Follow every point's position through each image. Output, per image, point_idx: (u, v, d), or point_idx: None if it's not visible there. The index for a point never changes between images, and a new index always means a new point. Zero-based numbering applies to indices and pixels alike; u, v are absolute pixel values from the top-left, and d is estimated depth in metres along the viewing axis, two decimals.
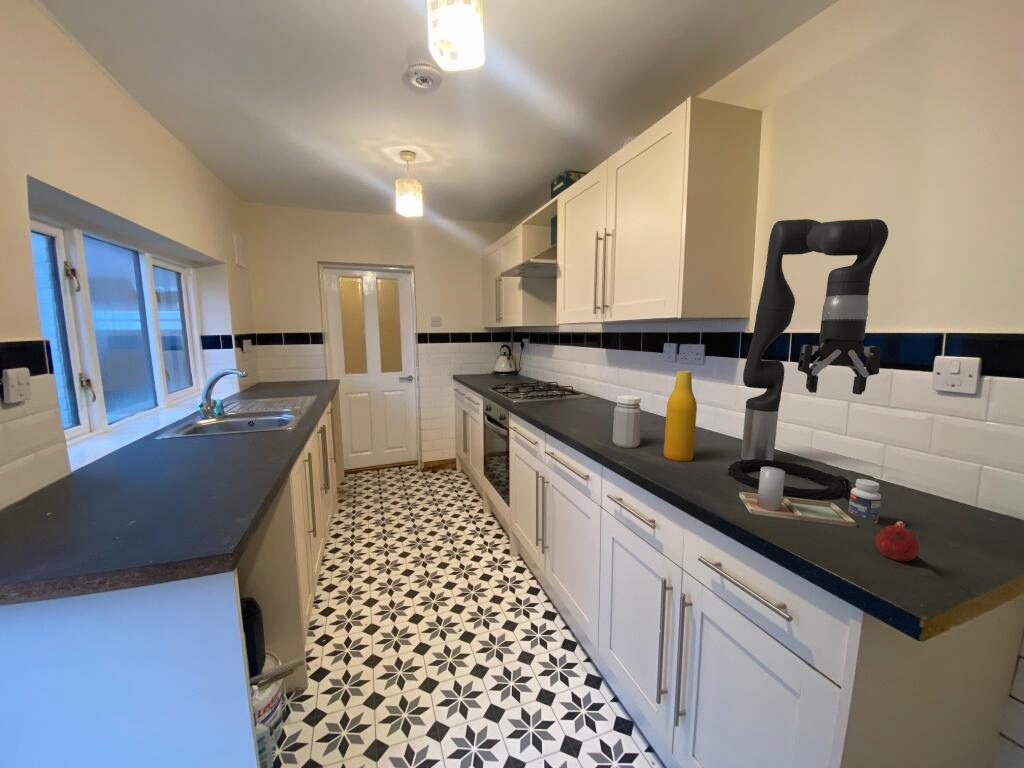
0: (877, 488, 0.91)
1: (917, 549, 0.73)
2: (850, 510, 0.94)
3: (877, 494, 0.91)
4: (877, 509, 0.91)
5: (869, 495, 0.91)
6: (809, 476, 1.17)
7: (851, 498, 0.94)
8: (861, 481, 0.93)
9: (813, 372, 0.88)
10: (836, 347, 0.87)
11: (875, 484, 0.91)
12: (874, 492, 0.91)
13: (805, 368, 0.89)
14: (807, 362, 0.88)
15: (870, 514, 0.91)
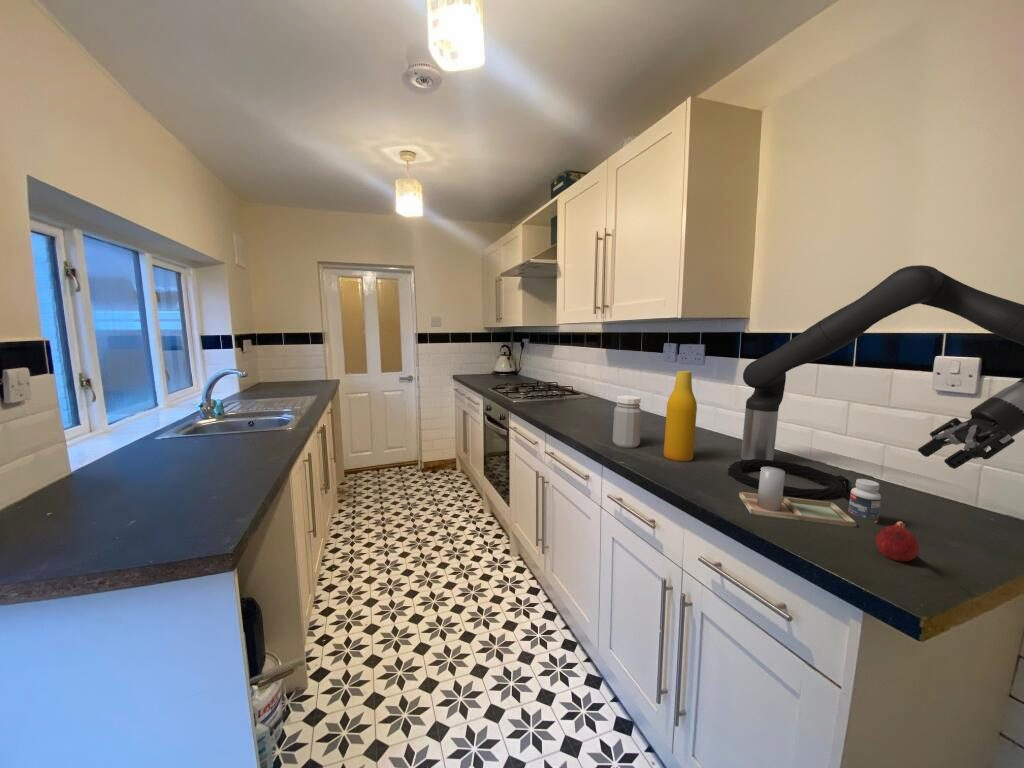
0: (877, 488, 0.91)
1: (917, 549, 0.73)
2: (850, 510, 0.94)
3: (877, 494, 0.91)
4: (877, 509, 0.91)
5: (869, 495, 0.91)
6: (809, 476, 1.17)
7: (851, 498, 0.94)
8: (861, 481, 0.93)
9: None
10: None
11: (875, 484, 0.91)
12: (874, 492, 0.91)
13: None
14: None
15: (870, 514, 0.91)
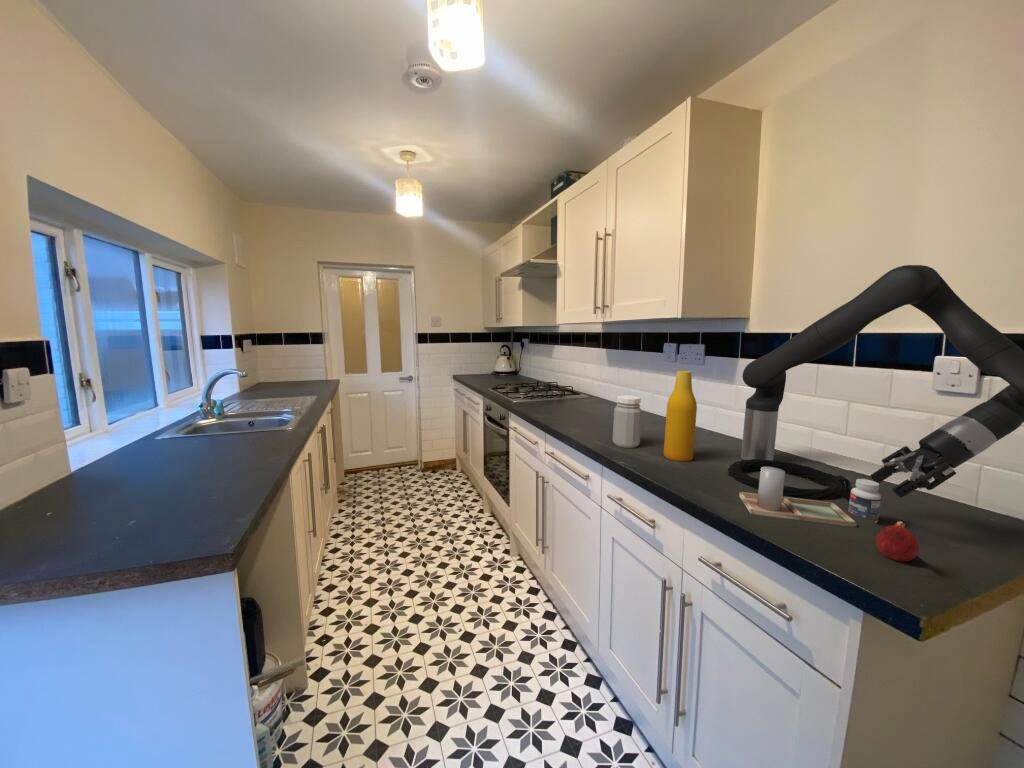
0: (877, 488, 0.91)
1: (917, 549, 0.73)
2: (850, 510, 0.94)
3: (877, 494, 0.91)
4: (877, 509, 0.91)
5: (869, 495, 0.91)
6: (809, 476, 1.17)
7: (851, 498, 0.94)
8: (861, 481, 0.93)
9: None
10: None
11: (875, 484, 0.91)
12: (874, 492, 0.91)
13: None
14: None
15: (870, 514, 0.91)
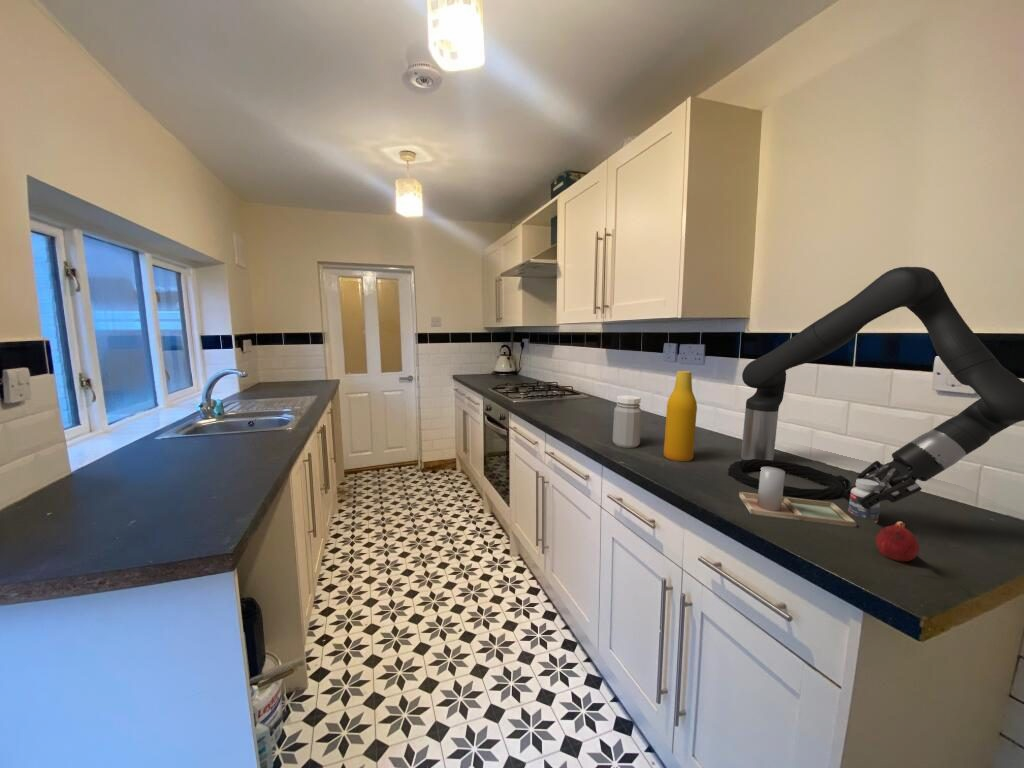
0: None
1: (917, 549, 0.73)
2: (850, 510, 0.94)
3: None
4: (877, 509, 0.91)
5: None
6: (809, 476, 1.17)
7: (851, 498, 0.94)
8: (861, 481, 0.93)
9: None
10: None
11: (875, 484, 0.91)
12: (874, 492, 0.91)
13: None
14: None
15: (870, 514, 0.91)
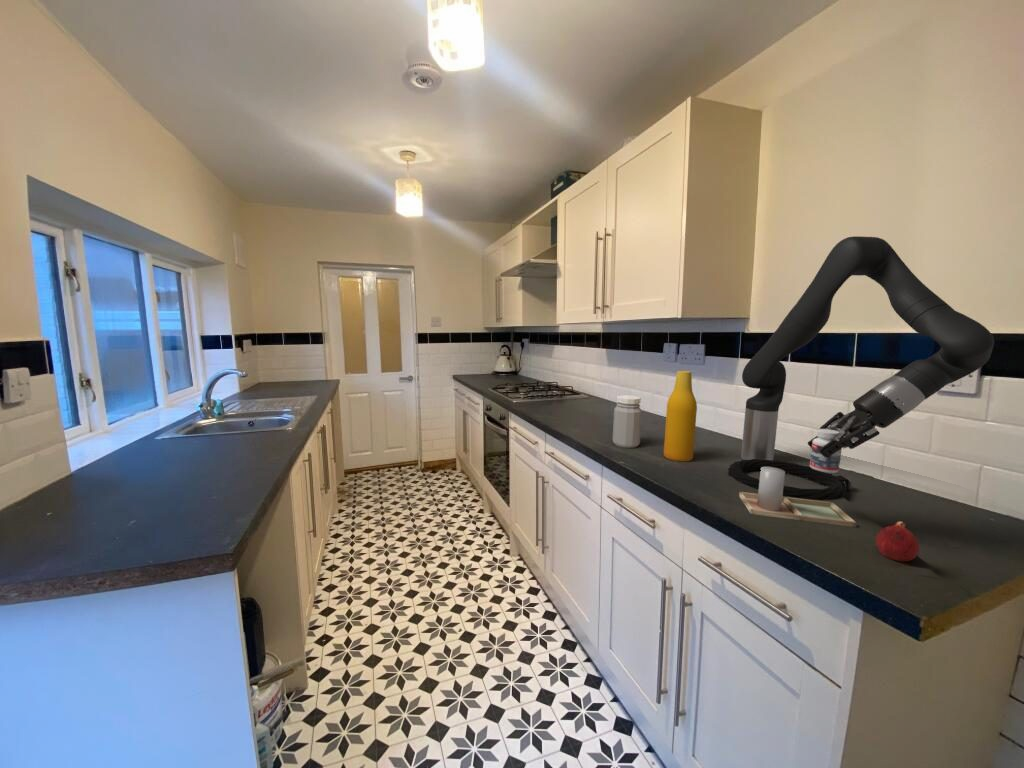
0: None
1: (917, 549, 0.73)
2: (811, 460, 0.92)
3: None
4: (838, 458, 0.89)
5: None
6: (809, 476, 1.17)
7: (812, 448, 0.92)
8: (822, 430, 0.91)
9: None
10: None
11: (835, 432, 0.89)
12: (834, 440, 0.89)
13: None
14: None
15: (830, 463, 0.89)
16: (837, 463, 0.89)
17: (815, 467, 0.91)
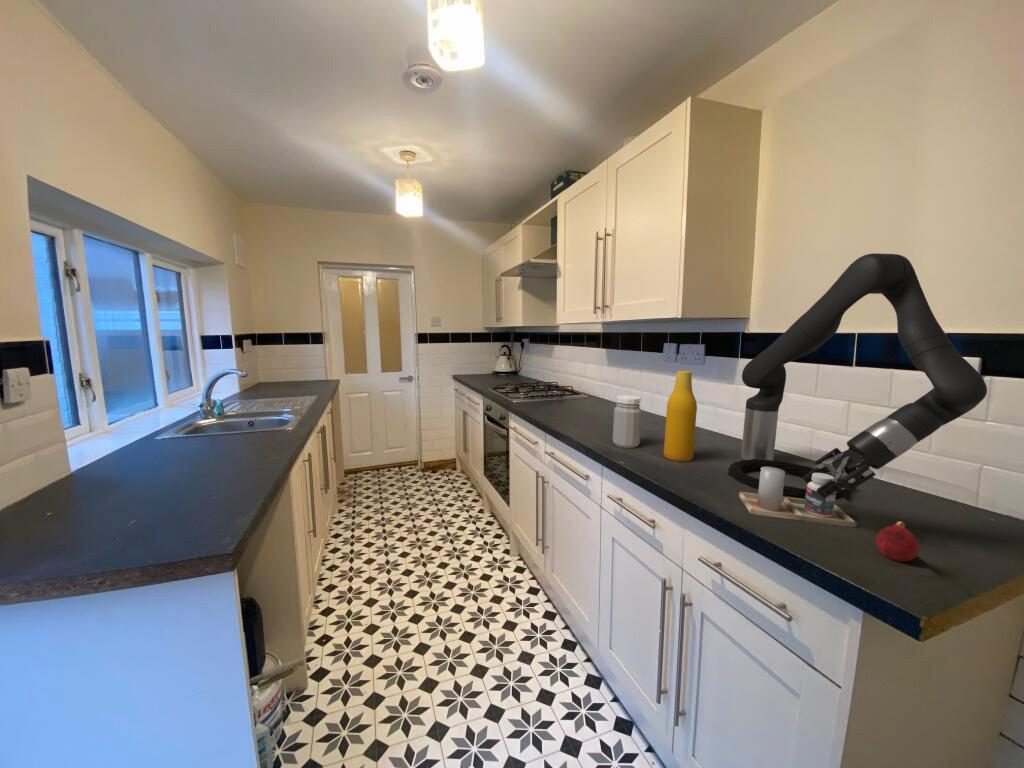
0: None
1: (917, 549, 0.73)
2: (806, 504, 0.93)
3: None
4: (832, 503, 0.90)
5: None
6: None
7: (807, 492, 0.93)
8: (816, 475, 0.92)
9: None
10: None
11: (830, 478, 0.91)
12: None
13: None
14: None
15: (825, 508, 0.91)
16: (831, 508, 0.91)
17: (810, 511, 0.92)
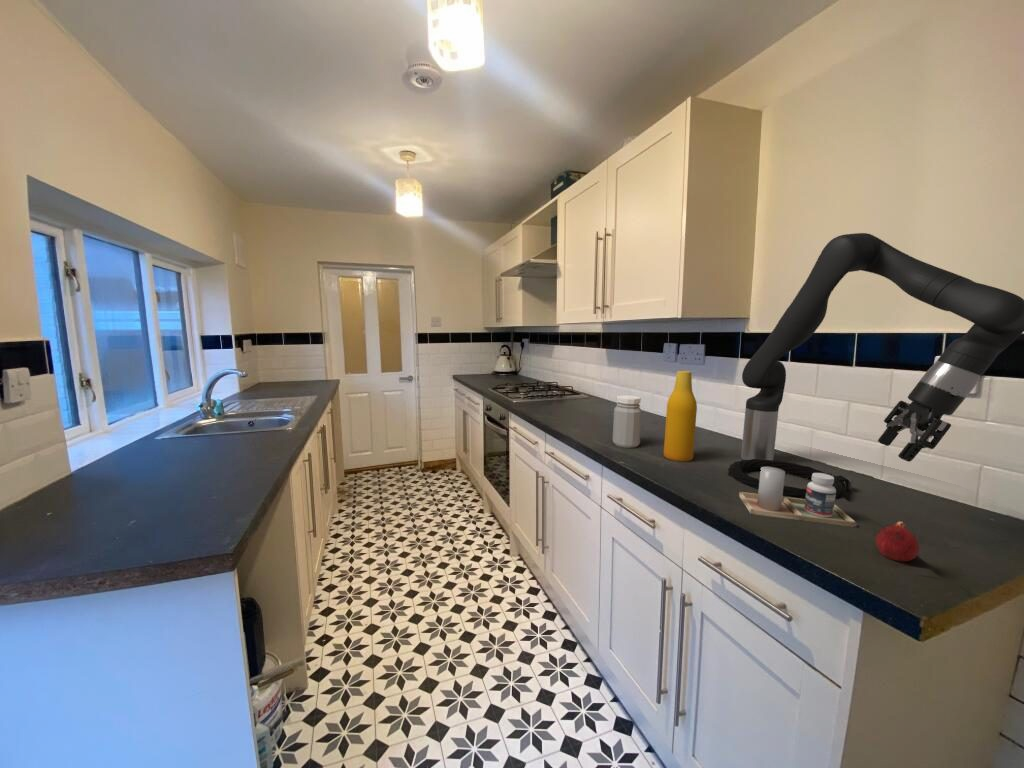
0: (832, 482, 0.90)
1: (917, 549, 0.73)
2: (806, 504, 0.93)
3: (832, 488, 0.91)
4: (832, 503, 0.90)
5: (823, 489, 0.90)
6: (809, 476, 1.17)
7: (807, 492, 0.93)
8: (817, 475, 0.92)
9: None
10: None
11: (830, 478, 0.91)
12: (829, 486, 0.91)
13: None
14: None
15: (824, 508, 0.91)
16: (831, 508, 0.91)
17: (810, 511, 0.92)
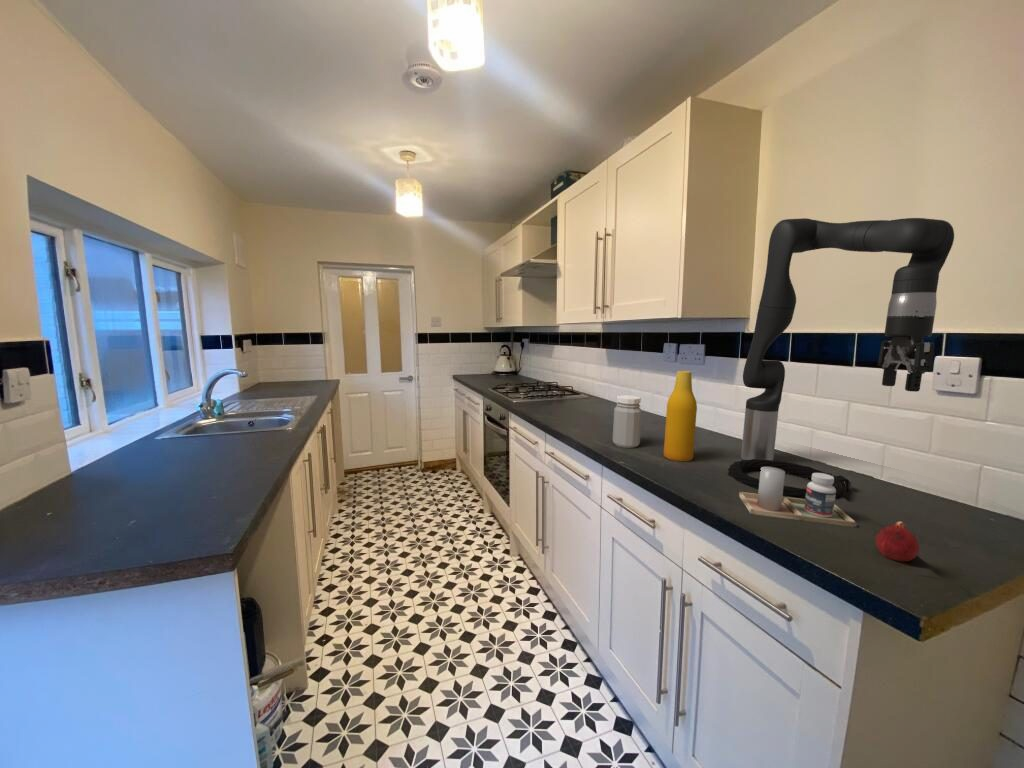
0: (831, 482, 0.90)
1: (917, 549, 0.73)
2: (806, 504, 0.93)
3: (832, 488, 0.91)
4: (832, 503, 0.90)
5: (823, 489, 0.90)
6: (809, 476, 1.17)
7: (807, 492, 0.93)
8: (816, 475, 0.92)
9: None
10: None
11: (830, 478, 0.91)
12: (829, 486, 0.91)
13: None
14: None
15: (824, 508, 0.91)
16: (831, 508, 0.91)
17: (809, 511, 0.92)
